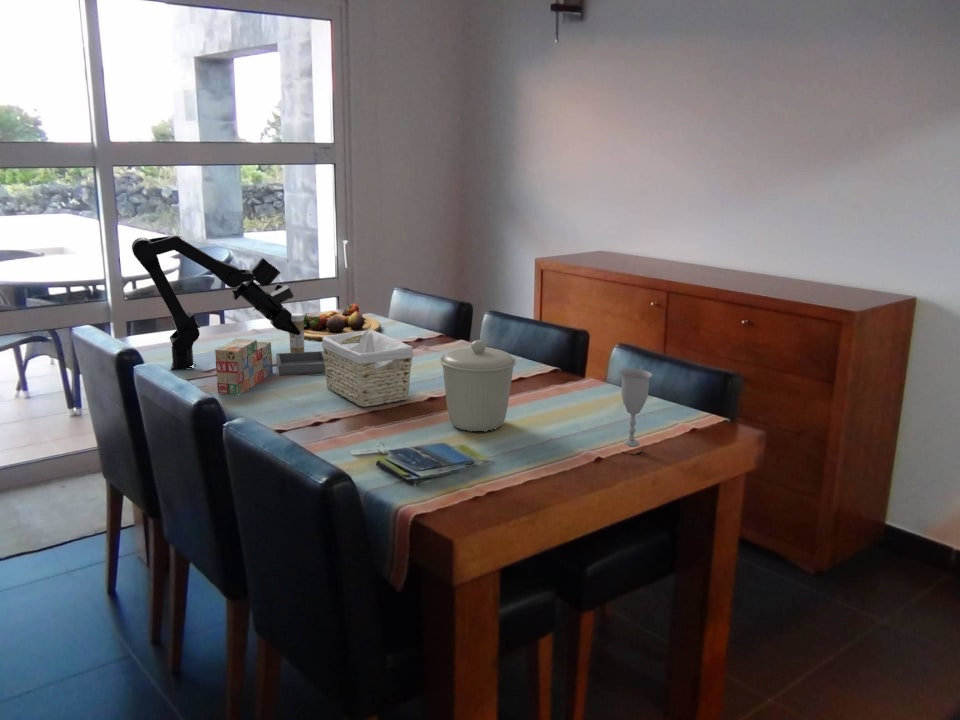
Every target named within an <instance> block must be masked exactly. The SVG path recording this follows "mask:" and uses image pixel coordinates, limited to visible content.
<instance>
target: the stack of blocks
mask: <svg viewBox="0 0 960 720" xmlns="http://www.w3.org/2000/svg"><path fill="white" fill-rule="evenodd" d="M214 354H215V368H216V370H215V371H216V381H217V382H216V384H217V385H216V386H217V394H223V395H226V394H227V395H235V394H240V395H241V394H243V393H245V392H247V391H248V390H249V388H250V389H251V388H252V387H254V386H255V385H257V384H259V382H261V381H263V380H264V379H266V378H268V377H269V376H270V375H273V372H274V369H273V367H274V366H273V353H272V342H268V341H257V339H251V338H250V339H249V338H235V339H233V340H231V341H229V342H227V343H226V344H223V345H221V346H219V347H218V348H216V349H215V353H214ZM244 391H245V392H244ZM242 392H243V393H242Z"/></svg>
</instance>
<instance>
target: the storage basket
mask: <svg viewBox="0 0 960 720" xmlns="http://www.w3.org/2000/svg"><path fill="white" fill-rule="evenodd" d="M349 344H350V345H351V344H357V345H356V346H353V347H352V348H350V349H349V348H348V347H347V346H344V345H349ZM321 347H322V349H323V351H324V360H325V361H324V365H325V368H326V369H325V373H324V374H325V382H326V387H327V388H328V389H329V390H330V391H332V392H334V393H336V394H338V395H339V394H340V395H339V396H341V397H344V398H345V399H346V400H348V401H350V402H352V403H354V404H355V405H357V406H358V407H362V408H363V407H365V408H367V407H373V406H374V407H375V406H378V405H383V404H391V403H393V402H394V403H395V402H400V401H405V400H407V399H408V398H409V393H410V380H411V370H412V369H411V368H412V361H413V358H414V349H413V346H412V345H408V344H407V343H406V342H405V343H404V342H402V341H400V340H397V339H396V338H395V339H394V338H391V337H389V336H388V335H385V334H383V333H380V332H376V331H374V330H367V331H359V332H351V333H344V334H337V335H330V336H324V337H323V341H321Z"/></svg>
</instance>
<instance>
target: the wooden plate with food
mask: <svg viewBox="0 0 960 720" xmlns="http://www.w3.org/2000/svg"><path fill="white" fill-rule="evenodd" d="M303 315H304V320H303V321H304V322H303V325H304V340H305V339H308V340H307V341H311V340H317V341H316V342H322V341H323V337H324V336H330V335H337V334H344V333H351V332H359V331H367V330H374V331H376V332H378V331H379V332H380V330H381V328H382V326H381V323H380V321H378V320H377V319H374V318H372V317H367V316H363V314H362V313H361V312H360V308H359V305H358V303H351V304H350V306H349V305H347V306H345V309H344V310H343V312H339V311H336V310H335V311H334V310H328V311H325V312H322V313H321V314H319V315H314V316H313V315H308V312H307V313H305V314H303ZM379 332H378V333H379ZM288 334H289V335H290V333H289V332H288Z"/></svg>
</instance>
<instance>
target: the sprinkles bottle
mask: <svg viewBox="0 0 960 720" xmlns="http://www.w3.org/2000/svg"><path fill="white" fill-rule="evenodd" d="M290 313H291V314H292V317H291V320H292V322H293V323H294V325H295V326H296V327H297V328H298V330H299V331H300V332H301V333H300V335H296V334H292V333H290V334H289V346H290V347H289V350H290V352H289V353H295V352H305V339H304V325H303V322H304V321H303V320H304V315H305V314H303V313H301V312H290Z"/></svg>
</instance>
